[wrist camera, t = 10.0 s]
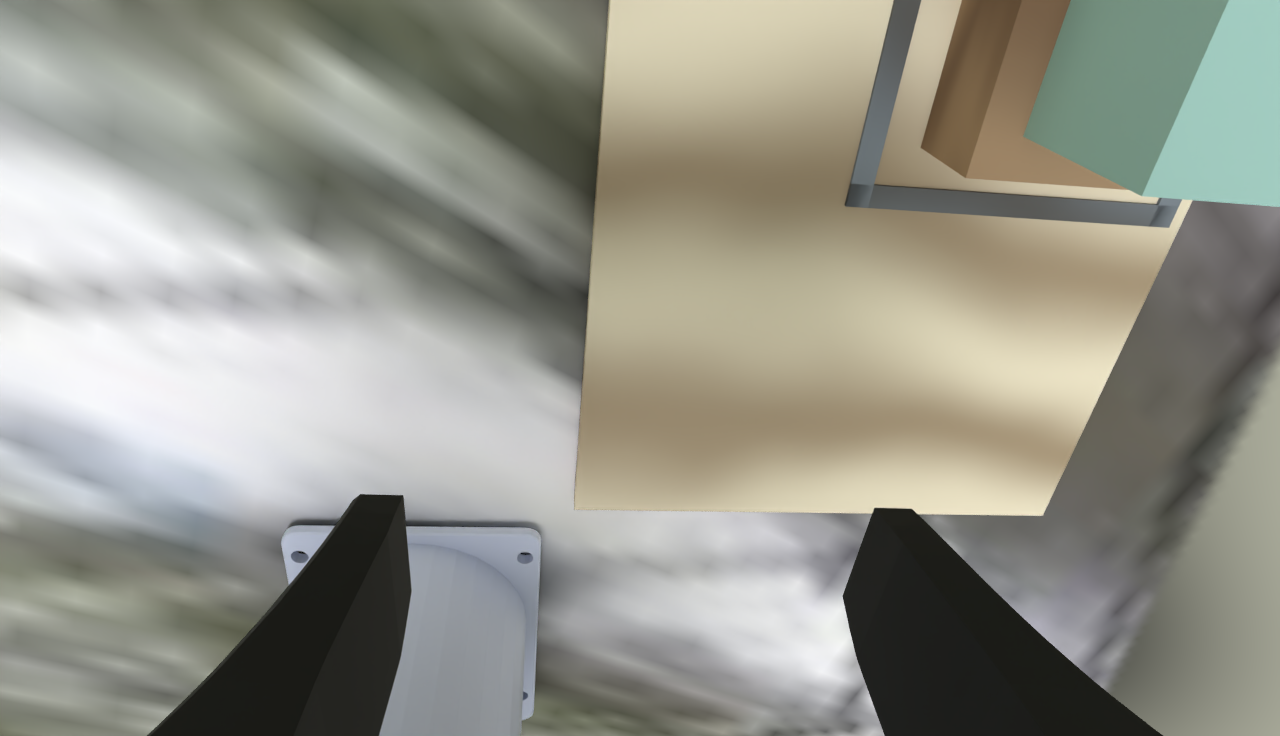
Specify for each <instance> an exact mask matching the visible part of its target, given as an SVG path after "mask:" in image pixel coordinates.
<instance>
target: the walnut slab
mask: <svg viewBox="0 0 1280 736" xmlns="http://www.w3.org/2000/svg"><path fill="white" fill-rule="evenodd" d="M1070 1H1071V0H962V2H961V5H960V9H959V13H958V16H957V20H956V23H955V27H954V30H953V34H952V37H951V41H950V45H949V48H948V52H947V55H946V59H945V62H944V66H943V69H942V73H941V77H940V80H939V84H938V87H937V91H936V94H935V98H934V102H933V105H932V109H931V112H930V116H929V119H928V123H927V126H926V130H925V134H924V137H923V141H922V144H921V148H922V149H923V150H925V151H926V152H927V153H929V154H930V155H932V156H933V157H935V158H936V159H938V160H939V161H941V162H942V163H944V164H945V165H947V166H948V167H950V168H951V169H953V170H954V171H956V172H957V173H959V174H960V175H962V176H963V177H964V178H969V179H983V180H997V181H1011V182H1024V183H1038V184H1052V185H1066V186H1080V187H1093V188H1107V189H1121V190H1128V189H1126V188H1124V187H1122V186H1120V185H1118V184H1116V183H1114V182H1112V181H1110V180H1108V179H1106V178H1104V177H1102V176H1100V175H1098V174H1096V173H1094V172H1092V171H1091V170H1089V169H1087V168H1085V167H1083V166H1081V165H1079V164H1077V163H1075V162H1073V161H1071V160H1069V159H1067V158H1065V157H1063V156H1061V155H1059V154H1057V153H1055V152H1053V151H1051V150H1049V149H1047V148H1045V147H1043V146H1041V145H1039V144H1037V143H1035V142H1033V141H1031V140H1029V139H1027V138H1025V137H1023V135H1024V132H1025V130H1026V127H1027V124H1028V121H1029V118H1030V115H1031V112H1032V110H1033V107H1034V104H1035V101H1036V98H1037V95H1038V92H1039V90H1040V87H1041V84H1042V81H1043V78H1044V75H1045V72H1046V70H1047V67H1048V64H1049V61H1050V58H1051V55H1052V52H1053V50H1054V47H1055V44H1056V41H1057V38H1058V35H1059V32H1060V30H1061V27H1062V24H1063V21H1064V18H1065V15H1066V12H1067V10H1068V7H1069V4H1070Z"/></svg>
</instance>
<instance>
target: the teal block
mask: <svg viewBox="0 0 1280 736" xmlns="http://www.w3.org/2000/svg"><path fill="white" fill-rule="evenodd" d="M1023 137H1025V138H1027V139H1029V140H1031V141H1033V142H1035V143H1037V144H1039V145H1041V146H1043V147H1045V148H1047V149H1049V150H1051V151H1053V152H1055V153H1057V154H1059V155H1061V156H1063V157H1065V158H1067V159H1069V160H1071V161H1073V162H1075V163H1077V164H1079V165H1081V166H1083V167H1085V168H1087V169H1089V170H1091V171H1092V172H1094V173H1096V174H1098V175H1100V176H1102V177H1104V178H1106V179H1108V180H1110V181H1112V182H1114V183H1116V184H1118V185H1120V186H1122V187H1124V188H1126V189H1128V190H1130V191H1132V192H1134V193H1136V194H1138V195H1140V196H1145V197H1158V198H1171V199H1184V200H1197V201H1211V202H1224V203H1237V204H1250V205H1263V206H1276V207H1280V0H1071V1H1070V4H1069V7H1068V10H1067V12H1066V15H1065V18H1064V21H1063V24H1062V27H1061V30H1060V32H1059V35H1058V38H1057V41H1056V44H1055V47H1054V50H1053V52H1052V55H1051V58H1050V61H1049V64H1048V67H1047V70H1046V72H1045V75H1044V78H1043V81H1042V84H1041V87H1040V90H1039V92H1038V95H1037V98H1036V101H1035V104H1034V107H1033V110H1032V112H1031V115H1030V118H1029V121H1028V124H1027V127H1026V130H1025V132H1024V135H1023Z"/></svg>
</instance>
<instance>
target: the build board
mask: <svg viewBox="0 0 1280 736" xmlns="http://www.w3.org/2000/svg"><path fill="white" fill-rule="evenodd" d="M961 2H962V0H609V6H608V21H607V35H606V49H605V64H604V78H603V92H602V107H601V121H600V135H599V150H598V164H597V179H596V193H595V207H594V222H593V236H592V250H591V265H590V279H589V293H588V308H587V322H586V336H585V351H584V365H583V379H582V394H581V408H580V422H579V437H578V451H577V465H576V480H575V494H574V510H638V511H718V512H797V513H873V510H874V508H907V509H913V510H914V511H915V512H916V513H917V514H956V515H1036V516H1043V513H1044V511H1045V509H1046V507H1047V505H1048V503H1049V501H1050V499H1051V497H1052V495H1053V492H1054V490H1055V488H1056V486H1057V484H1058V482H1059V480H1060V478H1061V476H1062V474H1063V471H1064V469H1065V467H1066V465H1067V463H1068V461H1069V459H1070V457H1071V455H1072V453H1073V450H1074V448H1075V446H1076V444H1077V442H1078V440H1079V438H1080V436H1081V434H1082V432H1083V429H1084V427H1085V425H1086V423H1087V421H1088V419H1089V417H1090V415H1091V413H1092V411H1093V408H1094V406H1095V404H1096V402H1097V400H1098V398H1099V396H1100V394H1101V392H1102V390H1103V387H1104V385H1105V383H1106V381H1107V379H1108V377H1109V375H1110V373H1111V371H1112V369H1113V366H1114V364H1115V362H1116V360H1117V358H1118V356H1119V354H1120V352H1121V350H1122V347H1123V345H1124V343H1125V341H1126V339H1127V337H1128V335H1129V333H1130V331H1131V329H1132V326H1133V324H1134V322H1135V320H1136V318H1137V316H1138V314H1139V312H1140V310H1141V308H1142V305H1143V303H1144V301H1145V299H1146V297H1147V295H1148V293H1149V291H1150V289H1151V287H1152V284H1153V282H1154V280H1155V278H1156V276H1157V274H1158V272H1159V270H1160V268H1161V266H1162V263H1163V261H1164V259H1165V257H1166V255H1167V253H1168V251H1169V249H1170V247H1171V245H1172V242H1173V240H1174V238H1175V236H1176V234H1177V232H1178V230H1179V228H1180V226H1181V224H1182V221H1183V219H1184V217H1185V215H1186V213H1187V211H1188V209H1189V207H1190V205H1191V203H1192V200H1184V199H1171V198H1158V197H1145V196H1140V195H1138V194H1136V193H1134V192H1132V191H1130V190H1121V189H1107V188H1093V187H1080V186H1066V185H1052V184H1038V183H1024V182H1011V181H997V180H983V179H969V178H964V177H963V176H962V175H960V174H959V173H957V172H956V171H954V170H953V169H951V168H950V167H948V166H947V165H945V164H944V163H942V162H941V161H939V160H938V159H936V158H935V157H933V156H932V155H930V154H929V153H927V152H926V151H925V150H923V149H922V148H921V144H922V141H923V137H924V134H925V130H926V126H927V123H928V119H929V116H930V112H931V109H932V105H933V102H934V98H935V94H936V91H937V87H938V84H939V80H940V77H941V73H942V69H943V66H944V62H945V59H946V55H947V52H948V48H949V45H950V41H951V37H952V34H953V30H954V27H955V23H956V20H957V16H958V13H959V9H960V5H961Z"/></svg>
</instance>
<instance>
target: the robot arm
mask: <svg viewBox="0 0 1280 736" xmlns="http://www.w3.org/2000/svg"><path fill="white" fill-rule="evenodd" d="M281 546H282V551H283V557H284V562H285V567H286V573H287V578H288V584H289V586H288V587H287V588H286V590H285V591H284V592H283V593H282V594H281V596H280V597H279V598H278V599H277V600H276V602H275V603H274V604H273V605H272V607H271V608H270V609H269V610H268V611H267V612H266V614H265V615H264V616H263V617H262V618H261V619H260V620H259V622H258V623H257V624H256V625H255V626H254V627H253V628H252V629H251V630H250V631H249V633H248V634H247V635H246V636H245V637H244V638H243V639H242V640H241V641H240V642H239V644H238V645H237V646H236V647H235V648H234V649H233V650H232V651H231V652H230V653H229V655H228V656H227V657H226V658H225V659H224V660H223V661H222V662H221V663H220V664H219V665H218V667H217V668H216V669H215V670H214V671H213V672H212V673H211V674H210V675H209V676H208V677H207V678H206V679H205V680H204V681H203V682H202V683H201V684H200V685H199V686H198V687H197V688H196V689H195V690H194V691H193V692H192V693H191V694H190V695H189V696H188V697H187V698H186V699H185V700H184V701H183V702H182V703H181V704H180V705H179V706H178V707H177V708H176V709H175V710H174V711H173V712H172V713H170V714H169V715H168V716H167V717H166V718H165V719H164V720H163V721H162V722H161V723H160V724H159V725H158V726H157V727H156V728H155V729H154V730H153V731H152V732H150V733H149V734H148V735H147V736H521V726H522V720H525V719H528V718H530V717H531V716H532V715H533V712H534V696H535V673H536V649H537V626H538V603H539V580H540V557H541V536H540V534H539V533H538V532H537V531H536V530H534V529H532V528H519V527H414V526H406V521H405V509H404V498H403V495H365V494H360V495H359V496H358V497H356V498H355V499H354V500H353V501H352V502H351V504H350V505H349V507H348V508H347V510H346V511H345V513H344V514H343V516H342V517H341V518H340V520H339V521H338V522H337V524H336V525H335V526H309V525H298V526H292V527H290V528H288V529H287V530H286V531H285V533H284V535H283V537H282V540H281ZM297 551H302V552H305V553H306V554H300V553H298V552H297ZM523 552H528V553H530V554H529V555H521V554H520V553H523ZM843 600H844V604H845V609H846V614H847V618H848V623H849V628H850V632H851V636H852V640H853V644H854V648H855V653H856V657H857V660H858V663H859V666H860V669H861V671H862V674H863V677H864V680H865V683H866V685H867V688H868V691H869V694H870V696H871V699H872V702H873V705H874V707H875V710H876V713H877V716H878V718H879V721H880V724H881V726H882V729H883V732H884V734H885V736H1163V735H1161V734H1160V733H1159V732H1157V731H1156V730H1155V729H1153V728H1152V727H1151V726H1149V725H1148V724H1147V723H1146V722H1144V721H1143V720H1142V719H1140V718H1139V717H1138V716H1137V715H1135V714H1134V713H1133V712H1132V711H1130V710H1129V709H1128V708H1127V707H1125V706H1124V705H1123V704H1121V703H1120V702H1119V701H1118V700H1116V699H1115V698H1114V697H1112V696H1111V695H1110V694H1109V693H1108V692H1106V691H1105V690H1104V689H1103V688H1101V687H1100V686H1099V685H1098V684H1097V683H1095V682H1094V681H1093V680H1092V679H1091V678H1089V677H1088V676H1087V675H1086V674H1085V673H1084V672H1082V671H1081V670H1080V669H1079V668H1078V667H1077V666H1076V665H1074V664H1073V663H1072V662H1071V661H1070V660H1069V659H1068V658H1066V657H1065V656H1064V655H1063V654H1062V653H1061V652H1060V651H1059V650H1057V649H1056V648H1055V647H1054V646H1053V645H1052V644H1051V643H1049V642H1048V641H1047V640H1046V639H1045V638H1044V637H1043V636H1042V635H1041V634H1040V633H1038V632H1037V631H1036V630H1035V629H1034V628H1033V627H1032V626H1031V625H1030V624H1029V623H1028V622H1027V621H1026V620H1024V619H1023V618H1022V617H1021V616H1020V615H1019V614H1018V613H1017V612H1016V611H1015V610H1014V609H1013V608H1012V607H1011V606H1010V605H1009V604H1008V603H1007V602H1006V601H1005V600H1004V599H1003V598H1001V597H1000V596H999V595H998V594H997V593H996V592H995V591H994V590H993V589H992V588H991V587H990V586H989V585H988V584H987V583H986V582H985V581H984V580H983V579H982V578H981V577H980V576H979V575H978V574H977V573H976V572H975V571H974V570H973V569H972V568H971V567H970V566H969V565H968V564H967V563H966V562H965V561H964V560H963V559H962V558H961V557H960V556H959V555H958V554H957V553H956V552H955V551H954V550H953V549H952V548H951V547H950V546H949V545H948V544H947V543H946V542H945V541H944V540H943V539H942V538H941V537H940V536H939V535H938V534H937V533H936V532H935V531H934V530H933V529H932V528H931V527H930V526H929V525H928V524H927V523H926V522H925V521H924V520H923V519H922V518H921V517H920V516H919V515H918V514H917V513H916V512H915V511H914V510H913V509H907V508H874V510H873V513H872V516H871V519H870V522H869V524H868V527H867V530H866V533H865V535H864V538H863V541H862V544H861V547H860V549H859V552H858V555H857V558H856V560H855V563H854V566H853V569H852V572H851V574H850V577H849V580H848V583H847V585H846V588H845V591H844V594H843Z"/></svg>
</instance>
